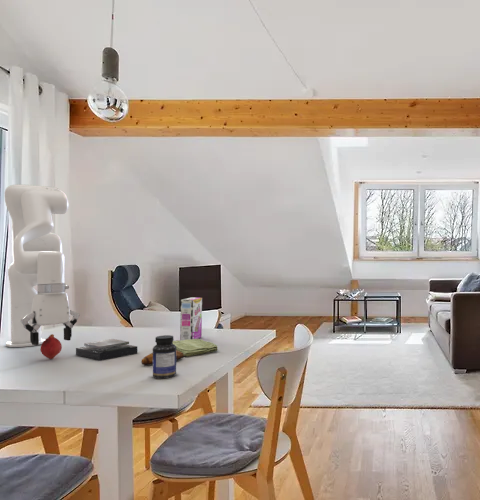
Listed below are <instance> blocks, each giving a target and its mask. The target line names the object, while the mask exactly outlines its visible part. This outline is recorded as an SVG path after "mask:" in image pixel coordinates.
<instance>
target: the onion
mask: <svg viewBox="0 0 480 500" xmlns="http://www.w3.org/2000/svg"><path fill="white" fill-rule="evenodd" d="M44 339H45V341H44V342H43V343H42V344H40V353H41V355H43V357H45V358H47V359H49V360H53V359H54V358H55V357H57V356H58V355H59V354H60V353H61V351H62V348H63V346H62V342H61V341H60V340H59V339H58V338H57V337H55V334H53V333H51V334H50V335H48V337H47V338H44Z"/></svg>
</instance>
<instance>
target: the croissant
mask: <svg viewBox="0 0 480 500" xmlns="http://www.w3.org/2000/svg"><path fill="white" fill-rule="evenodd" d="M184 357H185V356H184V355H183V353H182V352H180V351H177V350H176V361H178V360H181V359H183V358H184ZM140 362H141V365H142V366H149V365H153V352H151V353H148V354H147V355H146V356H144V357H143V358H142V359H141V361H140Z"/></svg>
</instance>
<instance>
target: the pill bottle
mask: <svg viewBox="0 0 480 500" xmlns="http://www.w3.org/2000/svg"><path fill="white" fill-rule="evenodd" d="M173 341H175V340H174V335H171V334H167V335H166V334H165V335H158V336H155V343H156V344H155V345H154V346H153V347H152V353H153V364H152V377H153V378H154V379H162V380H163V379H170V378H174V377H175V376H176V375H177V360H176V346H175V345H174V344H173Z"/></svg>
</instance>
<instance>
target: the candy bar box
mask: <svg viewBox="0 0 480 500" xmlns="http://www.w3.org/2000/svg"><path fill="white" fill-rule="evenodd" d="M202 322H203V297H197V296H196V297H188V298H183V299H180V326H179V328H180V332H179V341H180V340H188V339H201V338H202V334H203V332H202V331H203V329H202V327H203V323H202Z"/></svg>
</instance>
